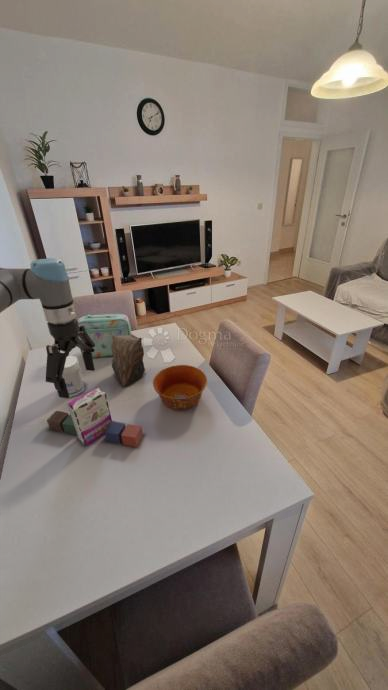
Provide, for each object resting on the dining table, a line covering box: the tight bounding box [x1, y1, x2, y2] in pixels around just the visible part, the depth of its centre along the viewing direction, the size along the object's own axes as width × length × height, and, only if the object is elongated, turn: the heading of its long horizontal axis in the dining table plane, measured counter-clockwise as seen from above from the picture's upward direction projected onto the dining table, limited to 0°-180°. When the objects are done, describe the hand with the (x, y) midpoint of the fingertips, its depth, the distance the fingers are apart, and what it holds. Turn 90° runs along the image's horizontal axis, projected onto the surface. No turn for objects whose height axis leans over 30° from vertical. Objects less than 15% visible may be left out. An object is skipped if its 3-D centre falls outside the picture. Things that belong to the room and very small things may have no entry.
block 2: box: [62, 413, 78, 436], centre depth 97 cm, size 5×5×5 cm
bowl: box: [152, 364, 208, 411], centre depth 109 cm, size 21×21×10 cm
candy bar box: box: [67, 386, 113, 446], centre depth 92 cm, size 11×5×16 cm, turn 137°
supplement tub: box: [57, 355, 85, 398], centre depth 113 cm, size 10×10×15 cm
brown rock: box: [111, 333, 146, 388], centre depth 120 cm, size 13×13×20 cm
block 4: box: [121, 423, 144, 448], centre depth 92 cm, size 5×5×5 cm
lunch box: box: [78, 313, 132, 359], centre depth 138 cm, size 27×10×21 cm, turn 102°
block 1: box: [46, 410, 70, 433], centre depth 98 cm, size 5×5×5 cm
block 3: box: [104, 420, 127, 445], centre depth 94 cm, size 5×5×5 cm
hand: (78, 382), depth 84 cm, fingers open, 13 cm apart
